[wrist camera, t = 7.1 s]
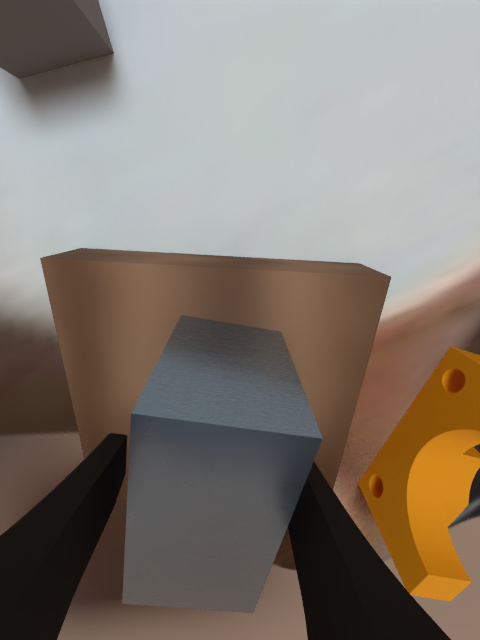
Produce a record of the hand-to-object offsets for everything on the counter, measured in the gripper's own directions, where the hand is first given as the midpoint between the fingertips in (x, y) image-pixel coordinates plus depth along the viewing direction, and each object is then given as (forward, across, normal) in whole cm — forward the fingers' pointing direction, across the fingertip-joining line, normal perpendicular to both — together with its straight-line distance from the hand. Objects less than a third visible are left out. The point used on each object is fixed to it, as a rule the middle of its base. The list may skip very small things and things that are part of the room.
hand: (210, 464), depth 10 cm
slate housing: (+3, 0, -1) cm, 3 cm away
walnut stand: (+6, 0, 0) cm, 6 cm away
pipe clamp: (+7, -15, +2) cm, 16 cm away
